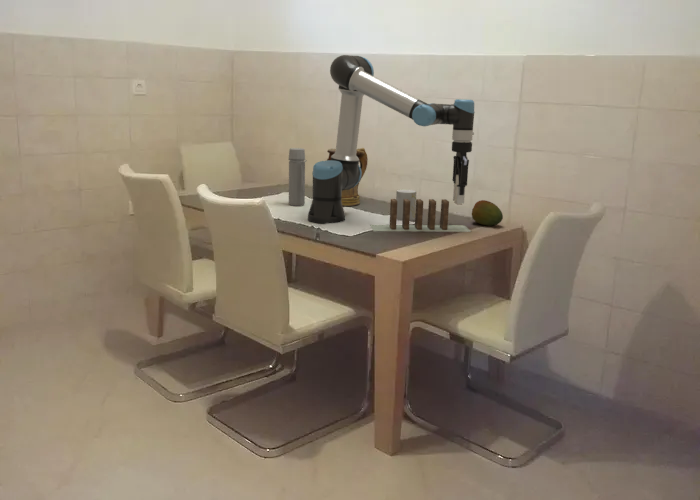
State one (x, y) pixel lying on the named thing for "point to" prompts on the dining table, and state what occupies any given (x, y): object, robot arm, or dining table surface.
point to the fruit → (486, 213)
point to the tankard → (351, 195)
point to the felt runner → (424, 228)
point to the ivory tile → (456, 189)
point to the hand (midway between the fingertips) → (458, 201)
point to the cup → (399, 197)
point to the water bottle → (296, 176)
